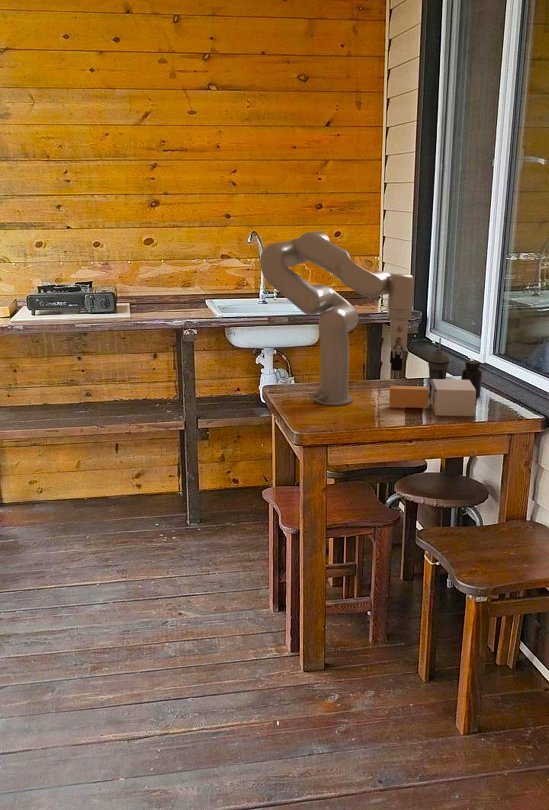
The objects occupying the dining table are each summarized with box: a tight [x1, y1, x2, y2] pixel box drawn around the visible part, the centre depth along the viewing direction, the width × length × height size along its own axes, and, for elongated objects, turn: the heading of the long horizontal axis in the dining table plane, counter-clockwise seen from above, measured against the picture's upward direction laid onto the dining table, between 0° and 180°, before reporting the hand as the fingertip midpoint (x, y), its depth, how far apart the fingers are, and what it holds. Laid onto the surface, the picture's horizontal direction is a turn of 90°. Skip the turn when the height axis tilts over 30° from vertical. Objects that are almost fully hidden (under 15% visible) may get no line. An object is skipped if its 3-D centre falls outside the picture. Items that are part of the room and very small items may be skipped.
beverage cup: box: [427, 337, 450, 395], centre depth 259 cm, size 7×7×20 cm
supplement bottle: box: [460, 360, 483, 399], centre depth 257 cm, size 7×7×12 cm
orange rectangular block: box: [388, 385, 430, 409], centre depth 243 cm, size 4×12×6 cm, turn 84°
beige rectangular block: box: [430, 378, 477, 417], centre depth 241 cm, size 14×13×8 cm
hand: (395, 366), depth 241 cm, fingers open, 9 cm apart
